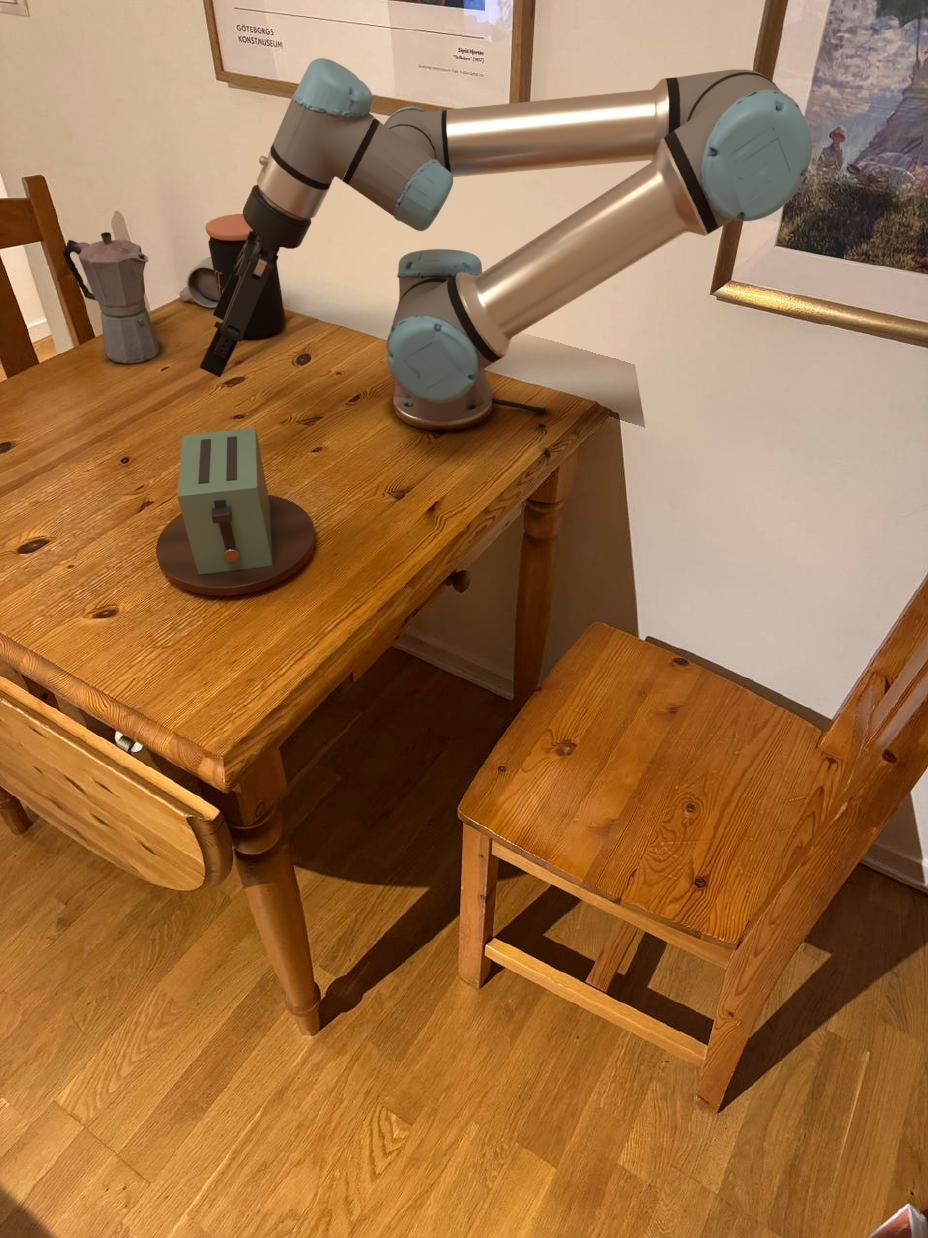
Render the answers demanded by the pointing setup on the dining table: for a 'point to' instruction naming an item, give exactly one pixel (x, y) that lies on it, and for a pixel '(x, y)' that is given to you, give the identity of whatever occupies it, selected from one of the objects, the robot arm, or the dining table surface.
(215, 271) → the coffee jar
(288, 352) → the dining table surface
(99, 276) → the moka pot
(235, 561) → the toaster
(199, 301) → the ceramic mug
